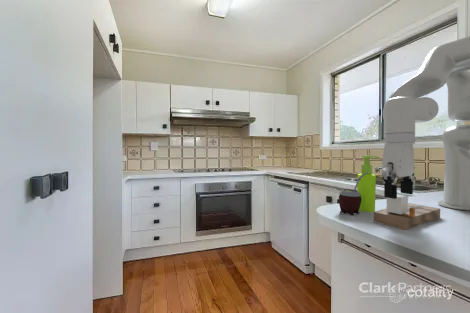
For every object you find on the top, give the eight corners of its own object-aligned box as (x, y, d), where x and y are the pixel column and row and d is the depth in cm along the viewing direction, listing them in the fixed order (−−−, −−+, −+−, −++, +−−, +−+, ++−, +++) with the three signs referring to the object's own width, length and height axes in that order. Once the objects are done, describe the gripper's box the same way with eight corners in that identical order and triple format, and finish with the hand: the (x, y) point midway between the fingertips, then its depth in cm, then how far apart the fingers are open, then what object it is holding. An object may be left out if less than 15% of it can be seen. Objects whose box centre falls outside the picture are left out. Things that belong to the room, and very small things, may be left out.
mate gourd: (336, 210, 87) (337, 169, 86) (359, 211, 86) (360, 169, 85) (342, 215, 80) (343, 171, 79) (367, 217, 78) (368, 171, 78)
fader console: (408, 211, 86) (409, 196, 85) (440, 217, 78) (440, 201, 78) (373, 221, 74) (373, 203, 73) (406, 230, 66) (406, 210, 66)
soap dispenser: (380, 212, 83) (382, 156, 83) (359, 211, 85) (360, 155, 84) (374, 208, 89) (375, 155, 88) (354, 207, 90) (355, 155, 90)
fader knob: (393, 209, 75) (393, 193, 75) (407, 212, 71) (408, 196, 71) (386, 211, 73) (386, 195, 72) (400, 214, 69) (401, 197, 69)
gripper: (399, 139, 79) (399, 190, 80) (370, 140, 70) (370, 197, 71) (427, 138, 72) (426, 194, 73) (398, 139, 64) (398, 202, 65)
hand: (398, 195), depth 72 cm, fingers open, 9 cm apart
